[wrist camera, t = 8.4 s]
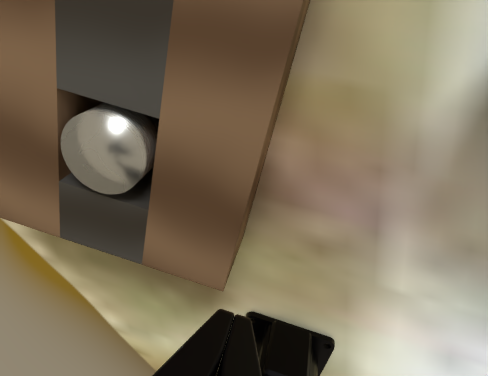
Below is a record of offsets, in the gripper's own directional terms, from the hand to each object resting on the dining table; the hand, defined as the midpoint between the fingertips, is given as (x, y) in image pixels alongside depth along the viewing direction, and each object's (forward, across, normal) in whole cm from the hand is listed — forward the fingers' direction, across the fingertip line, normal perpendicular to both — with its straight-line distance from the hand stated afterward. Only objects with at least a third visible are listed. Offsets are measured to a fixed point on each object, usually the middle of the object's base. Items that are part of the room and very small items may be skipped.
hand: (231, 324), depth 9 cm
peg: (+13, +8, +1) cm, 15 cm away
